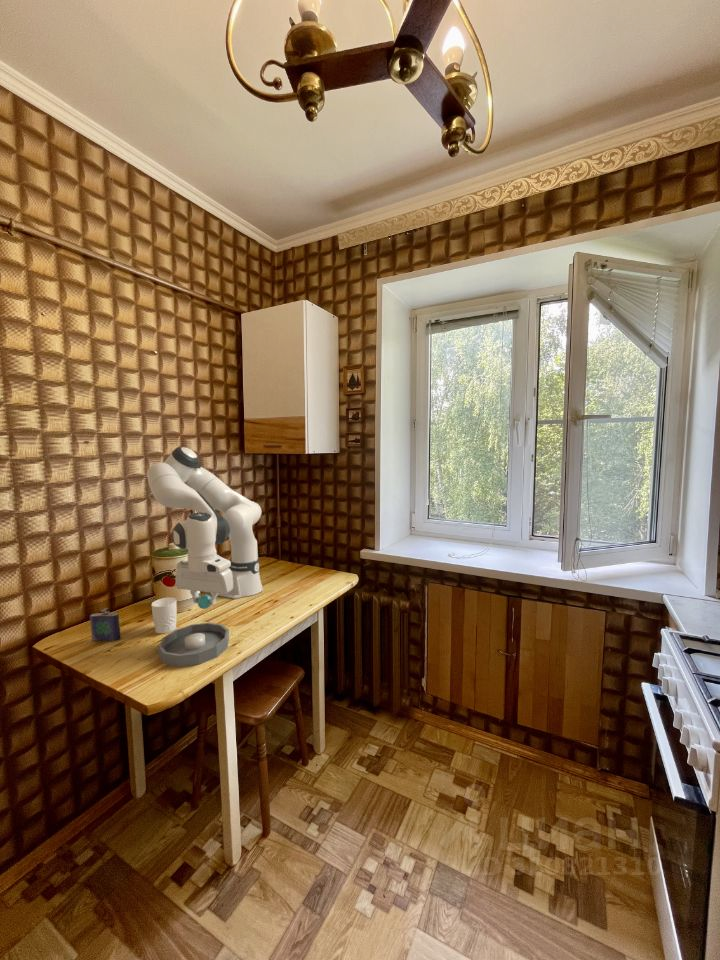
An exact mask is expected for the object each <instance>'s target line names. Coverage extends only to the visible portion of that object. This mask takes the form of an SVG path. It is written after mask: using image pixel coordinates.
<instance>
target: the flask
mask: <svg viewBox="0 0 720 960" xmlns="http://www.w3.org/2000/svg"><path fill="white" fill-rule="evenodd" d="M89 621H90V631H91V641H92V642H96V643H97V642H101V643H102V642H104V643H105V642H118V641H120V640H121V638H122V637H121V629H120V618H119V613H118V612H114V611H112V612H111V611H109V610H108V607H105V608H103V609H101V610H100V612H99V613H98V612H97V613H92V614H91V615H89Z"/></svg>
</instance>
